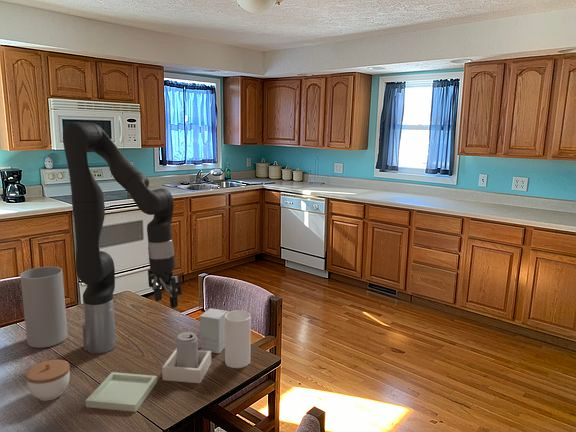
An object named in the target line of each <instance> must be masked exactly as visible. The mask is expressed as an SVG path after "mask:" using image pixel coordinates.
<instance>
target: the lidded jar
mask: <svg viewBox="0 0 576 432" xmlns="http://www.w3.org/2000/svg"><path fill="white" fill-rule="evenodd" d="M70 371H71V366H70V363H69V361H66V360H64V359H49V360H44V361H42V362H39V363H37V364H34V365H33V366H31V367H30V368H29V369H27V371H26V372H25V379H26V384H27V388H28V391H29V392H30V394H31V395H32V396H34V398H36V399H38V400H39V401H43V402H47V401H53V400H55V399H56V398H57V399H58V398H59V397H61V396H62V394H63V392H65V390H66V389H67V387H68V386H69V382H70V377H71V372H70Z"/></svg>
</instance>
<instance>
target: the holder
mask: <svg viewBox="0 0 576 432" xmlns="http://www.w3.org/2000/svg"><path fill="white" fill-rule="evenodd" d="M211 364H212V352H211V351H205V350H201V349H198V368H187V367H177V347H176V348H175V349H174V350H173V352H172V353H171V354H170V356H169V357H168V359H166V362H164V364H163V365H162V367H161V371H162V374H161V375H162V381H168V382H169V381H170V382H181V383H193V384H201V382H202V381H203V379H204V377H205V375H206V373H207V372H208V370H209V368H210V366H211Z"/></svg>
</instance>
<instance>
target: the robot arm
mask: <svg viewBox="0 0 576 432" xmlns="http://www.w3.org/2000/svg"><path fill="white" fill-rule="evenodd" d="M62 143H63V149H64V154H65V158H66V163H67V168H68V174H69V183H70V191H71V193H70V194H71V204H72V213H73V221H74V232H75V233H74V234H75V243H76V244H75V271H76V276H77V278H78V279H79V281H80V282H81V283H83V284H84V285H86V288H85V289H84V291H83V293H82V302H83V305H82V306H83V316H84V322H83V323H82V324H81V329H82V341H83V342H82V343H83V351H86V352H88V353H89V354H96V355H97V354H104V353H108V352H110V351H112V350H114V348H115V347H117V338H116V321H115V307H114V306H115V305H114V304H115V303H114V291H115V288H116V275H115V274H116V272H115V271H116V270H115V262H114V259H113V258H112V256H111V254H109V253H108V252H106V251H102V250H100V238H101V232H102V231H103V230H102V229H103V225H104V221H105V216H106V212H105V211H106V209H105V208H106V207H105V197H104V193H103V189H102V188H101V186H100V185H99V183H98V181H96V179H95V178H94V176H93V174H92V172H91V170H90V166H89V163H88V161H89V160H88V153H95V154H97V156H100V157H101V158H102V159H103V160H104V161H105V162H106V163H107V165H108V168H109V171H110V173H111V176H112V177H113V179H114V181H116V182H117V184H119V185H120V186H121V187H122V188H124V190H125V191H127V193H128V194H130V197H131V199H132V200H133V202H134V203H135V204H136V206H137V208H138V209H139V210H140V211H141V212H142V213H144V214H146V215H149V216H153V218H152V220H151V221H149V222H148V223H147V226H146V233H147V234H146V235H147V251H148V252H147V253H148V254H147V255H148V263H149V269H147V276H148V277H147V278H148V287H149V288H151V289H152V291H153V297H154V302H159V301H162V300H163V296H162V295H163V294H162V289H161V288H162V287H163V288H164V290H165V292H167V293H168V295H169V303H170V304H169V306H170V309H175V308H178V307H179V306H178V305H179V301H178V299H179V298H178V296H181V295H182V294H183V293H182V292H183V291H182V284H181V276H180V275H174V273H173V270H174V269H175V268H176V259H175V258H176V257H175V248H174V247H175V246H174V243H173V236H172V235H173V234H172V227H171V226H172V221H173V215H174V214H173V213H174V209H175V208H174V206H175V205H174V203H175V202H174V201H175V200H174V197H173V195H172V193H171V192H170V191H169V190H168V189H166V188H156V189H152V190H151V189H150V188H149V186H150V181H149V178H148V177H147V176H146V175H145V174H144V173H142V171H141V170H140V169H139V168H138V167H136V166H135V165H134V164H133V163H132V162H131V161H130V160H129V159H128V158H127V157H126V156H125V155H124V154H123V153H122V152H121V150H120V149H119V148H118V146H117V145H116V144H115V143H114V141H113V140H112V139H111V138H110V137H109V135H108V134H107V133H106V131H105V130H104V129H103V128H102V127H101V126H100V125H99V124H97V123H93V122H83V121H79V122H78V121H73V122H72V121H71V122H68V123H67V124H66V125H65V126H64V128H63V130H62Z"/></svg>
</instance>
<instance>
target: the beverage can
mask: <svg viewBox="0 0 576 432" xmlns="http://www.w3.org/2000/svg"><path fill="white" fill-rule="evenodd" d="M175 342H176V348H177V365H176V367H187V368H198V367H199V364H198V350H199V347H198V346H199V342H198V337H197V333H196V332H192V331H183V332H181V333H179V334H178V335H177V337H176V341H175Z"/></svg>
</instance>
